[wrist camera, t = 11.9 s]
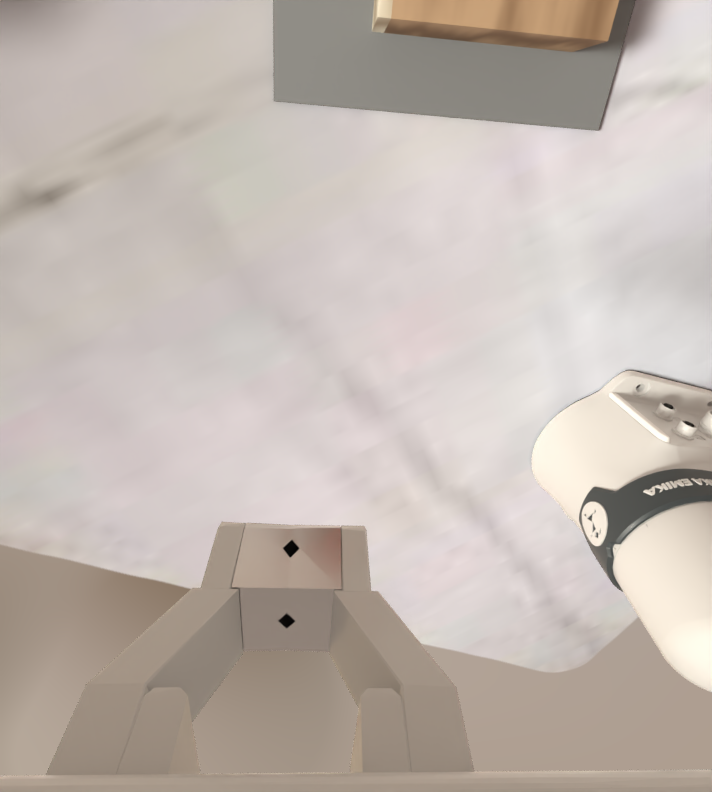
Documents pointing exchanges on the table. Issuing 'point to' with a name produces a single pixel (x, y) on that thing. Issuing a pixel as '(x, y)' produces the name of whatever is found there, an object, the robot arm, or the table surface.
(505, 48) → the rubber mat
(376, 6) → the light brown wooden block
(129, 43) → the table surface
